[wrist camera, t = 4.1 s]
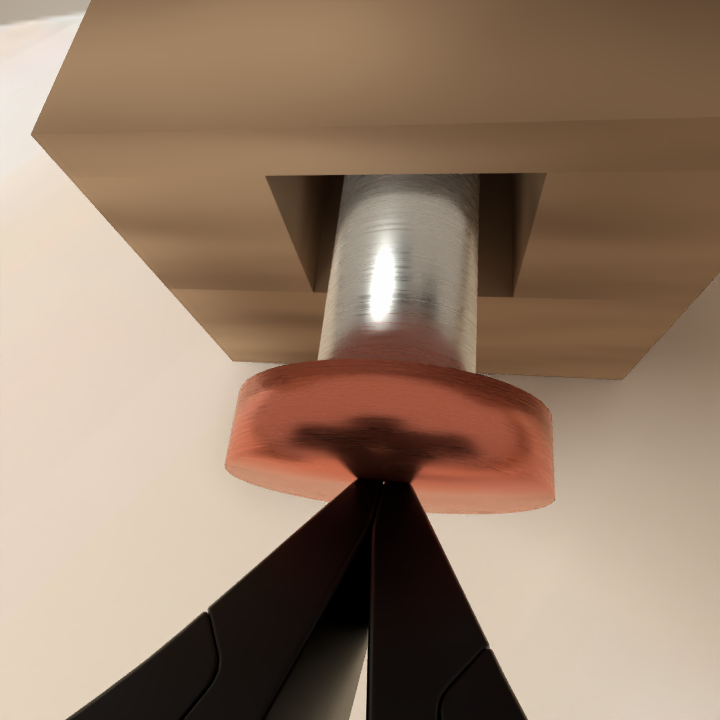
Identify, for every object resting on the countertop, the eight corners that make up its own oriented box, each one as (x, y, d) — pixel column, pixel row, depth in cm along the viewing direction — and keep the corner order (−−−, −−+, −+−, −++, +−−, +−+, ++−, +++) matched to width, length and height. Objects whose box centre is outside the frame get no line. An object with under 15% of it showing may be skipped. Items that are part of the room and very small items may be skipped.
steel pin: (524, 521, 11) (600, 469, 6) (276, 499, 11) (163, 437, 7) (517, -3, 17) (550, -237, 12) (354, 7, 17) (325, -208, 13)
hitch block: (622, 379, 15) (865, 113, 7) (232, 361, 17) (30, 134, 9) (602, 166, 18) (750, -206, 10) (272, 170, 20) (153, -139, 12)
